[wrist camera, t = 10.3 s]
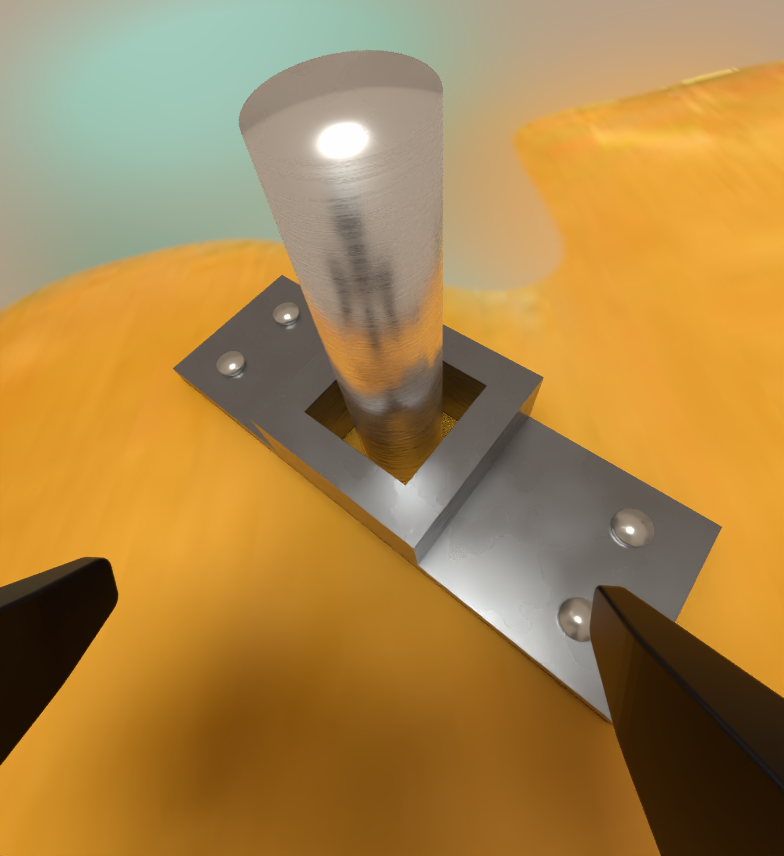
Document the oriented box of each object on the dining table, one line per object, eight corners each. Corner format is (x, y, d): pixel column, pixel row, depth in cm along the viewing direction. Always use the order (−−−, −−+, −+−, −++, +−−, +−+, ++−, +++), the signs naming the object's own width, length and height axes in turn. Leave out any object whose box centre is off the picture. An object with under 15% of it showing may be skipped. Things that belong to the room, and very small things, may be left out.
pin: (455, 462, 19) (480, 115, 7) (381, 493, 19) (265, 188, 6) (423, 400, 21) (396, 32, 8) (354, 428, 20) (222, 87, 8)
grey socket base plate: (706, 533, 17) (778, 501, 13) (610, 724, 14) (667, 748, 11) (287, 288, 25) (262, 229, 22) (183, 379, 23) (136, 329, 19)
